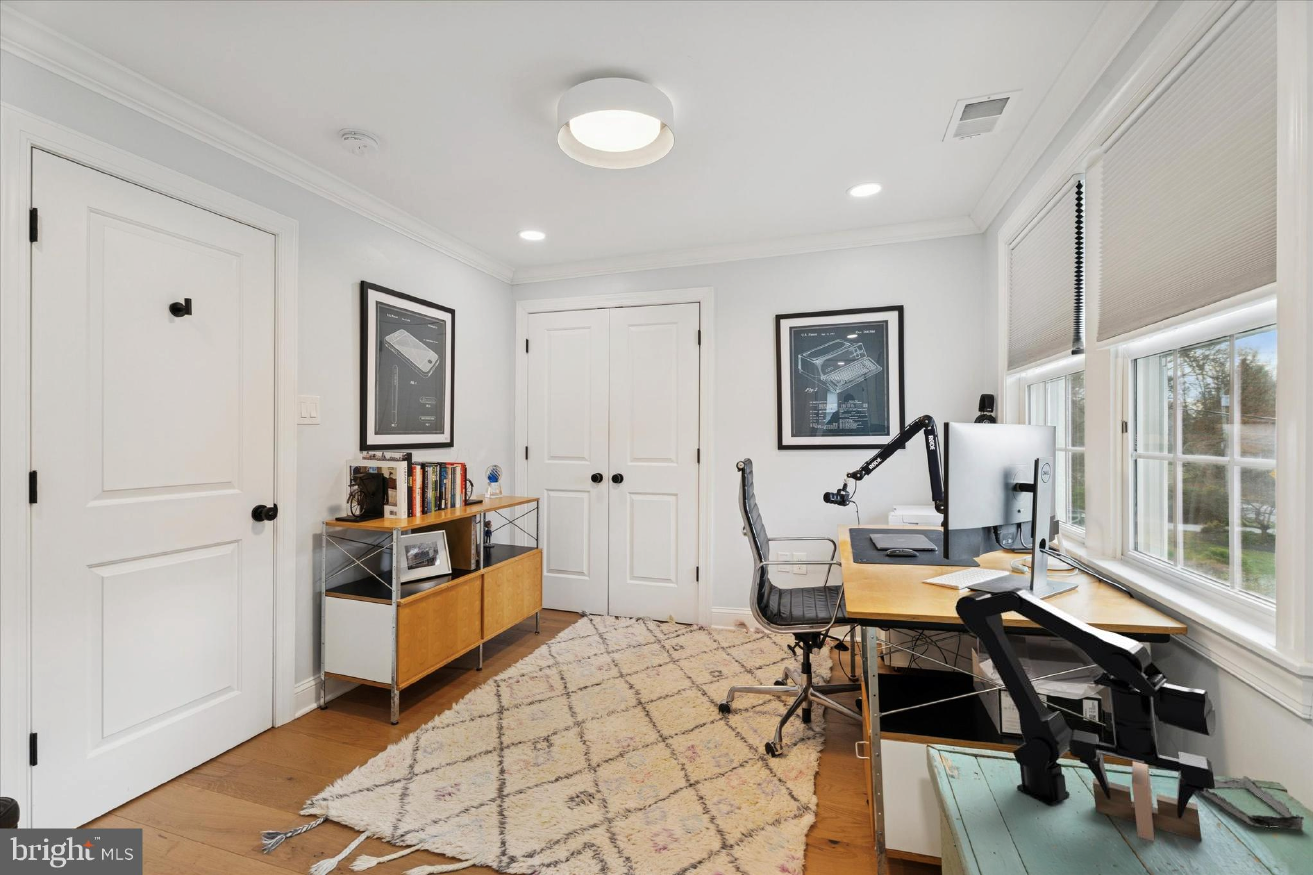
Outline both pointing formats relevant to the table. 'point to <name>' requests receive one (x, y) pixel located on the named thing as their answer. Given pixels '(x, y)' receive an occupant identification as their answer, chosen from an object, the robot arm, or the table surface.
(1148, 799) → the crosspiece
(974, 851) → the table surface
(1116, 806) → the cross rail
